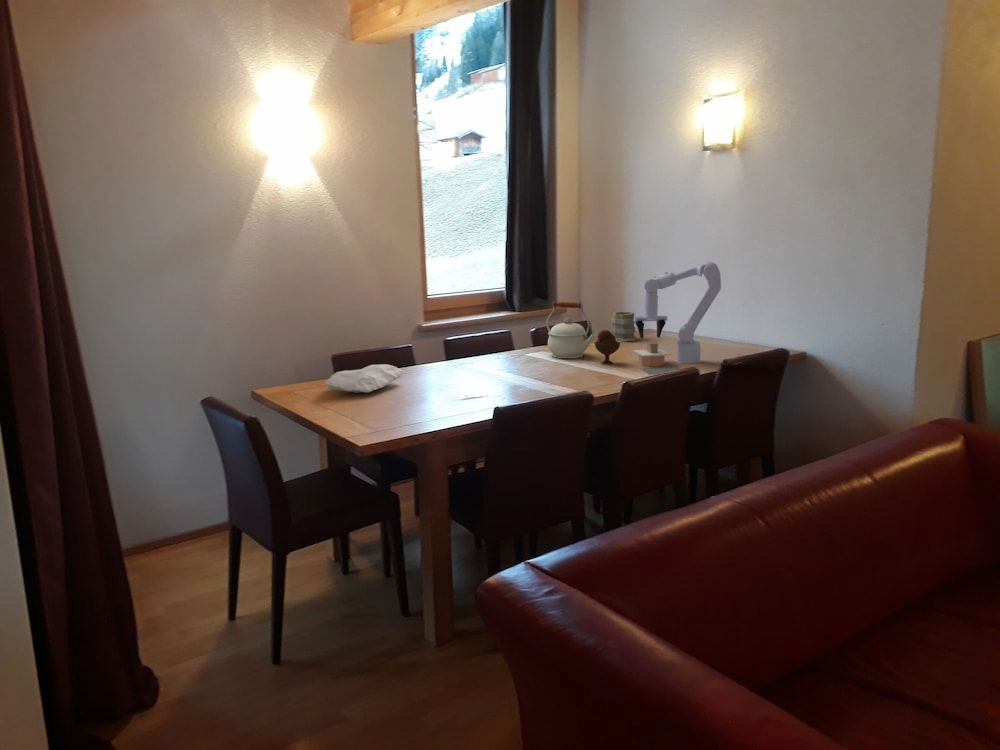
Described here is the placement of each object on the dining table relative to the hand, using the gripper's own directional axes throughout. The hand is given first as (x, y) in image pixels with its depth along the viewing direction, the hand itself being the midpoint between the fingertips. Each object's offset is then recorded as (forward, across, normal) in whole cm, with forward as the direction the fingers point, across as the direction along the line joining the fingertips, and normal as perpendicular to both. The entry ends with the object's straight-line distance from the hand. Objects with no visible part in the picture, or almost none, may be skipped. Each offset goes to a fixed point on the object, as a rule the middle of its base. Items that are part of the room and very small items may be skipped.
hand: (649, 337), depth 330 cm
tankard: (+11, +4, +57) cm, 59 cm away
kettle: (+11, -31, +19) cm, 38 cm away
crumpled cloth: (+11, -124, -26) cm, 127 cm away
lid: (+5, -2, -8) cm, 10 cm away
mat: (+10, -2, -22) cm, 24 cm away
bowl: (+10, -2, -8) cm, 13 cm away
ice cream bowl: (+11, -20, -2) cm, 23 cm away
